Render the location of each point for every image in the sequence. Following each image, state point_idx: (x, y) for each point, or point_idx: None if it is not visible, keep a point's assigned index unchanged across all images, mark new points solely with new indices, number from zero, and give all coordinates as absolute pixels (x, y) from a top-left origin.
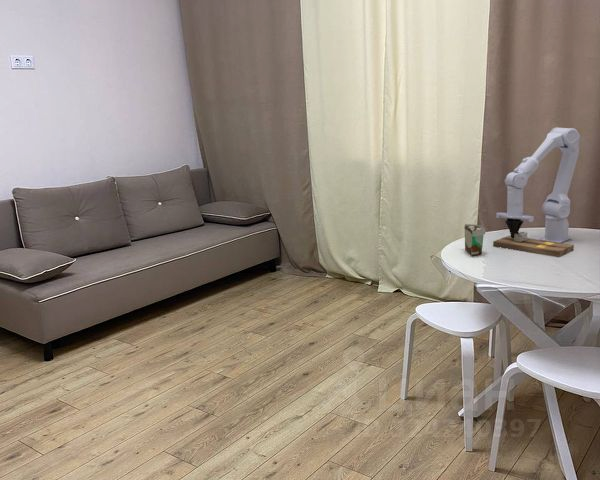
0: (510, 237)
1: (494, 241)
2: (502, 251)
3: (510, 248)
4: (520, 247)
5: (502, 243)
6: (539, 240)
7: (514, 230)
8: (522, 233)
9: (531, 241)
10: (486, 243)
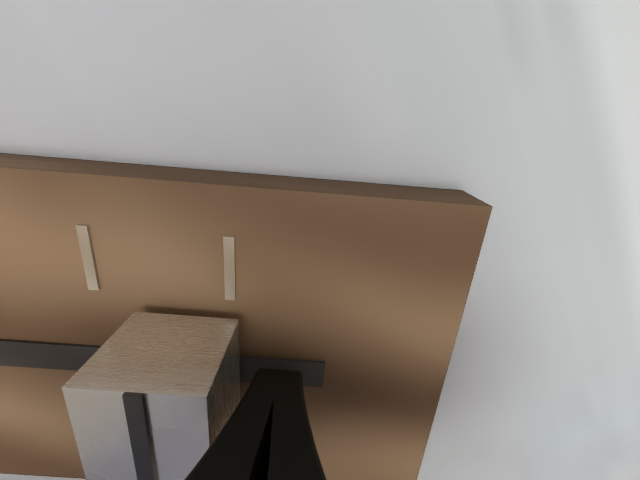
0: (369, 448)
1: (475, 211)
2: (261, 6)
3: (232, 172)
4: (80, 169)
5: (344, 193)
6: (74, 464)
7: (203, 472)
8: (114, 458)
9: None
10: (569, 272)
